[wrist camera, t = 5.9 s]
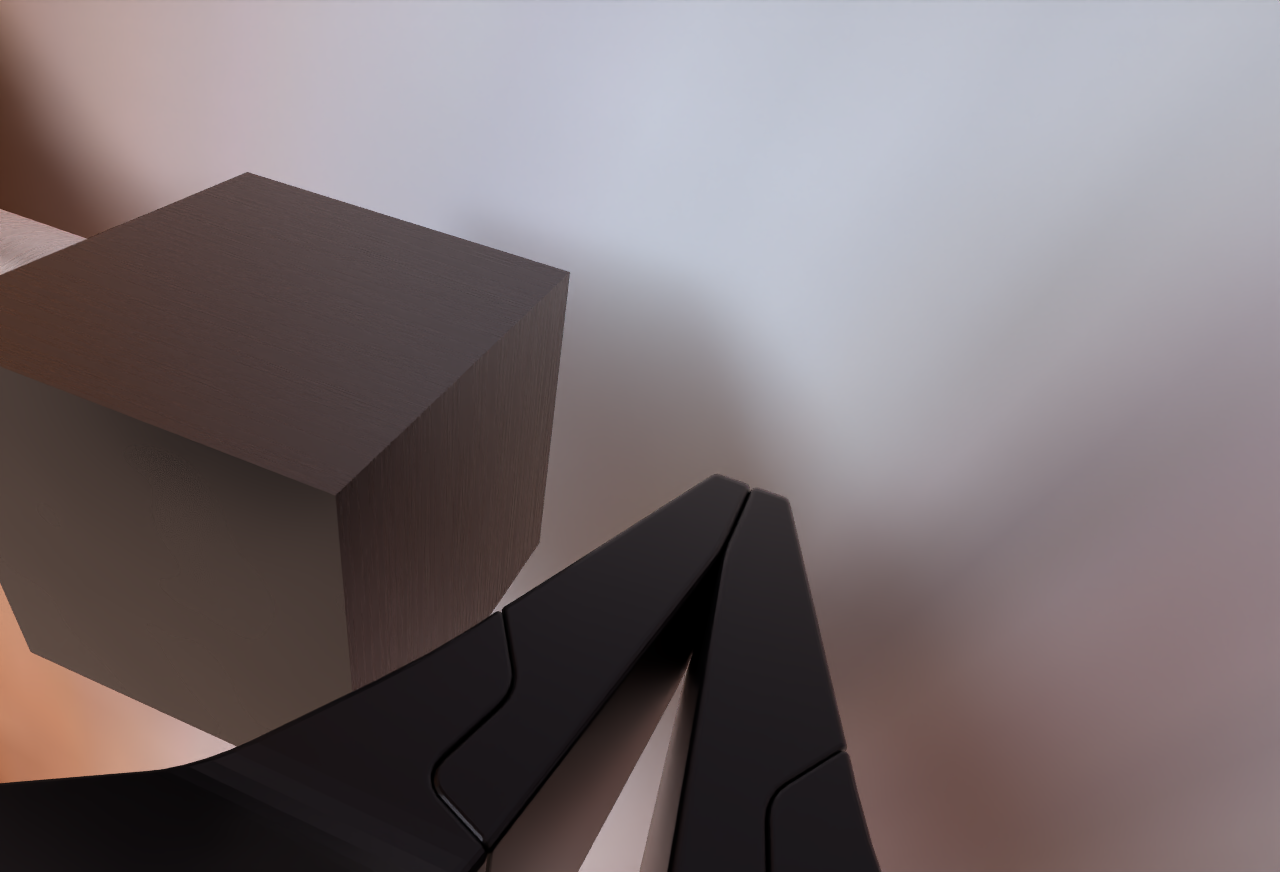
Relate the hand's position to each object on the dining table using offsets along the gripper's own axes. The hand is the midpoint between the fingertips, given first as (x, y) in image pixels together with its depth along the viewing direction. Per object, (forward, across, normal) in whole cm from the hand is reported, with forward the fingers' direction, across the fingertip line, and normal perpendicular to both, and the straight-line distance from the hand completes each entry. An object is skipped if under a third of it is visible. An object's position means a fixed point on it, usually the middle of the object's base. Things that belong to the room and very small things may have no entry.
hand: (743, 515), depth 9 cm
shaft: (0, +14, 0) cm, 14 cm away
